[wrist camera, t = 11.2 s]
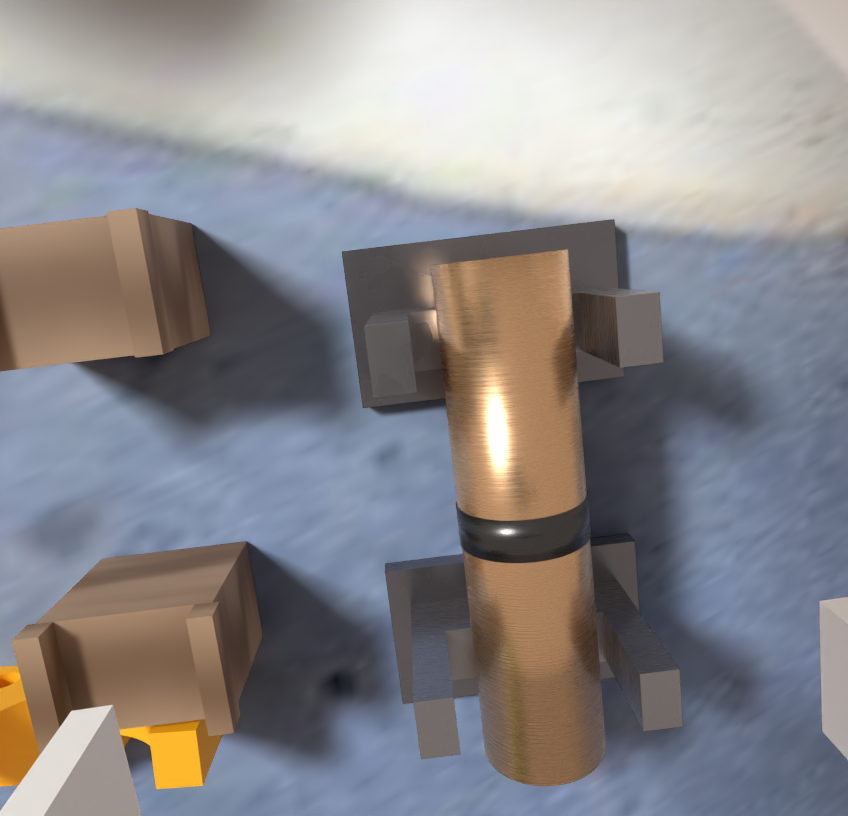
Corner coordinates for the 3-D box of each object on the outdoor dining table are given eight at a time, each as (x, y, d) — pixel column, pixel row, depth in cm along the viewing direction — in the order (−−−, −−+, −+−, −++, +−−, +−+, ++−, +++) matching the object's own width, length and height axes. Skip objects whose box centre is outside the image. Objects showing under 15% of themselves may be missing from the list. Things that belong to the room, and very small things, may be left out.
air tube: (425, 266, 29) (434, 265, 24) (551, 251, 29) (586, 247, 24) (476, 715, 33) (493, 795, 28) (587, 699, 33) (624, 776, 28)
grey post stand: (343, 252, 32) (322, 245, 24) (607, 220, 33) (685, 202, 24) (402, 692, 37) (403, 826, 28) (636, 663, 37) (711, 787, 28)
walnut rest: (27, 242, 32) (-89, 234, 24) (198, 222, 32) (136, 208, 24) (116, 654, 36) (40, 757, 28) (269, 635, 36) (234, 733, 28)
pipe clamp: (3, 744, 37) (-80, 843, 30) (-11, 666, 36) (-99, 751, 30) (240, 727, 37) (207, 822, 31) (231, 649, 36) (195, 730, 30)
